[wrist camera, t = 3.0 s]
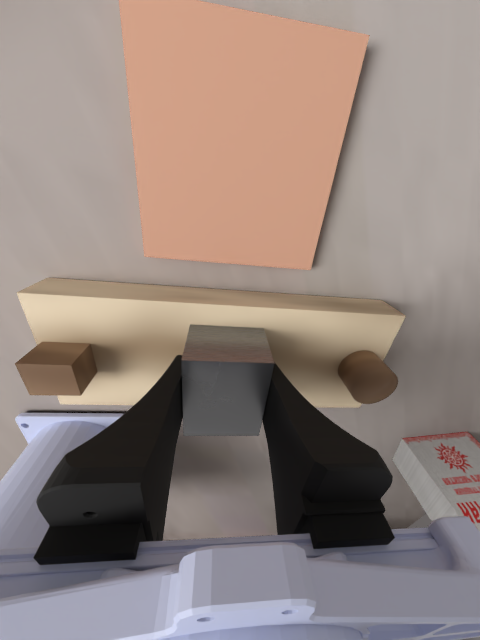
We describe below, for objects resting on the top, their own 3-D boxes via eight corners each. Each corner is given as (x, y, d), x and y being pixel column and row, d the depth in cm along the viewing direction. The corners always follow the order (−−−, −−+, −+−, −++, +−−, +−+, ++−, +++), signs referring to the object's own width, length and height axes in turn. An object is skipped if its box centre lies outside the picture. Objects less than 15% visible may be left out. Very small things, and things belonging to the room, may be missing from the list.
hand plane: (345, 385, 18) (374, 430, 15) (79, 379, 16) (40, 430, 13) (381, 300, 15) (431, 332, 11) (47, 277, 13) (-19, 309, 9)
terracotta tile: (307, 267, 13) (310, 269, 13) (147, 254, 12) (144, 256, 12) (361, 44, 9) (369, 35, 9) (123, -3, 8) (117, -16, 8)
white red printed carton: (452, 453, 25) (578, 595, 16) (392, 459, 24) (486, 607, 16) (467, 431, 23) (619, 578, 14) (402, 438, 23) (515, 592, 14)
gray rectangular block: (252, 393, 15) (258, 435, 12) (190, 392, 15) (183, 435, 12) (263, 328, 13) (274, 363, 10) (190, 324, 12) (181, 360, 10)
